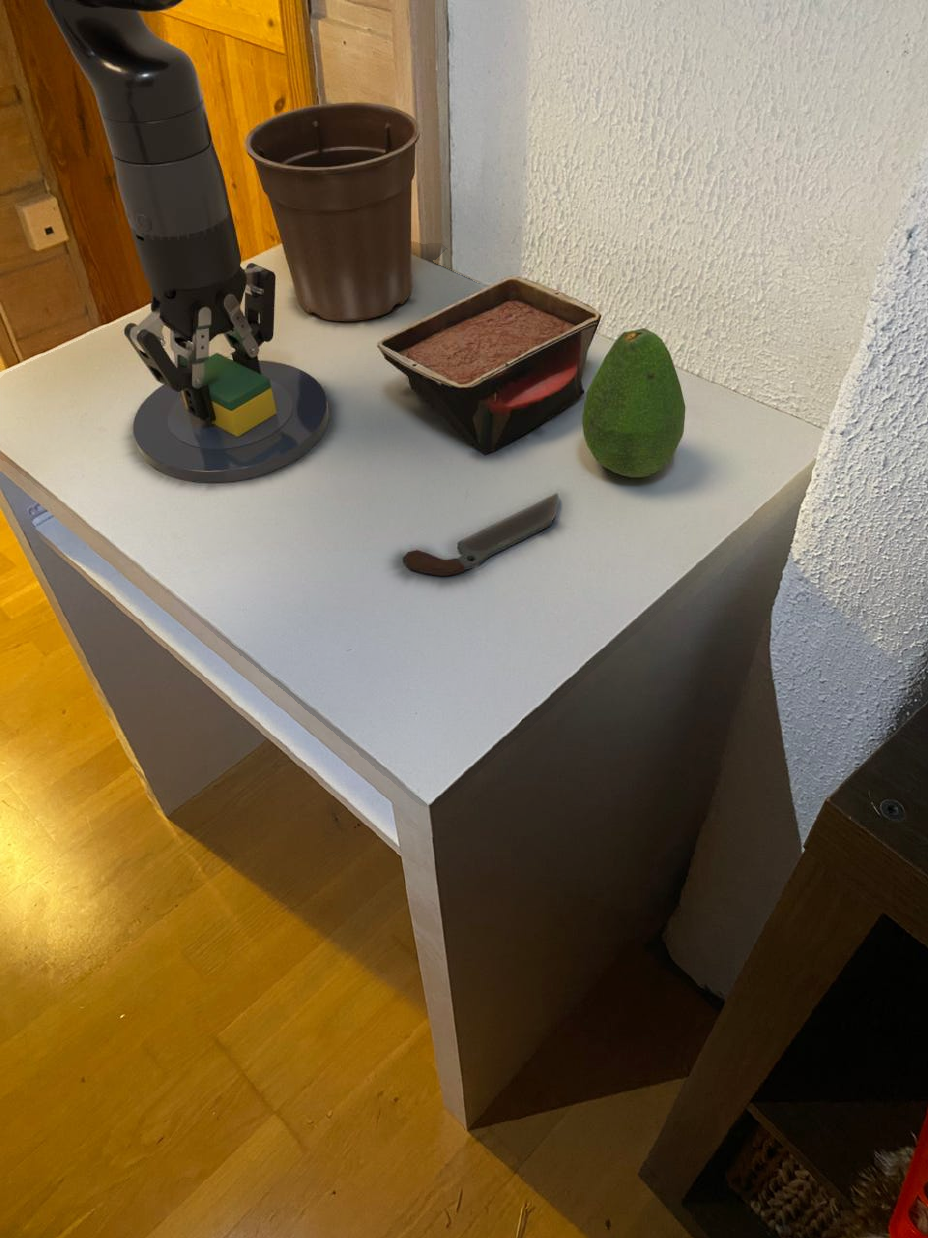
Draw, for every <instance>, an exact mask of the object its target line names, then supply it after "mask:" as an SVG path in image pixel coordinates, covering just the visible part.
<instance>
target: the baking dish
mask: <svg viewBox="0 0 928 1238" xmlns="http://www.w3.org/2000/svg"><path fill="white" fill-rule="evenodd" d="M602 316H603V315H602V314H601V313H600V312H599V311H598V310H596V309H595V308H594V307H592V306H591V305H590V304H587V303H585V302H582V301H580V300H579V299H577V298H575V297H572V296H570V295H568V294H566V293H564V292H562V291H559V290H556V289H554V288H551V287H549V286H547V285H544V284H542V283H538V282H535V281H533V280H530V279H527V278H525V277H524V278H523V277H521V276H511V275H510V276H507V277H505V278H502V279H501V280H499V281H497V282H493V284H491V285H489V286H487V287H484V288H482V289H480V290H478V291H476V292H474V293H472V294H471V295H468V296H467V297H465V298H462V299H460V300H458V301H457V302H455V303H453V304H450V305H449V306H446V307H444V308H442V309H440V310H438V311H436V312H434V313H431V314H430V315H428V316H426V317H424V318H422V319H420V320H418V321H415V322H413V323H410V324H409V325H407V326H405V327H403V328H401V329H399V330H397V331H394V332H393V333H391V334H389V335H387V336H384V337H383V338H381V339H380V340H378V342H377V345H376V347H377V348H378V351H380V353H381V354H382V356H383V357H384V360H386V361H387V362H388V363H390V364H391V365H392V366H393V367H395V368H396V369H397V370H399V371H400V372H401V373H402V374H404V375H405V376H406V377H407V381H408V383H409V387H410V389H411V390H413V391H414V392H416V393H418V394H420V395H422V397H423V398H425V400H426V401H427V402H428V403H429V404H430V405H431V406H432V407H433V408H434V409H435V410H436V411H437V412H438V413H439V414H440V415H441V416H442V417H443V418H444V419H445V420H446V421H447V423H449V424H450V425H451V426H452V427H453V428H454V429H455V430H456V432H458V433H459V434H460V435H461V437H463V438H464V439H465V440H466V441H467V442H468V443H470V445H472V446H473V447H474V448H476V449H477V451H479V452H481V454H483V455H484V456H486V455H489V454H493V453H495V452H497V451H499V450H500V449H502V448H504V447H505V446H507V445H509V444H510V443H512V442H515V441H516V440H518V439H519V438H521V437H523V436H524V435H526V434H527V433H529V432H531V431H532V430H534V429H536V428H537V427H539V426H540V425H542V424H543V423H544V422H546V421H547V420H549V419H551V418H552V417H554V416H555V415H557V414H559V413H560V412H561V411H563V410H565V409H566V408H567V407H568V406H570V405H571V404H573V403H574V402H576V401H577V400H579V399H580V398H581V397H582V396H583V395H585V390H584V387H583V384H582V380H583V374H584V370H585V366H586V361H587V357H588V353H589V349H590V347H591V344H592V342H593V340H594V337H595V334H596V332H597V330H598V327H599V325H600V322H601V319H602Z"/></svg>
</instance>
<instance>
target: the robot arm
mask: <svg viewBox="0 0 928 1238" xmlns="http://www.w3.org/2000/svg"><path fill="white" fill-rule="evenodd" d="M44 2H45V5H46V6H47V8H48V10H49V12H50V13H51V15H52V17H53V19H54V22H55V23H56V25H57V27H58V29H59V31H60V33H61V34H62V36H63V38H64V40H65V42H66V44H67V45H68V47H69V50H70V52H71V54H72V55H73V57H74V59H75V61H76V62H77V64H78V65H79V67H80V69H81V70H82V72H83V74H84V75H85V78H86V79H87V81H88V83H89V84H90V86H91V88H92V90H93V93H94V96H95V100H96V104H97V108H98V110H99V114H100V119H101V121H102V125H103V128H104V131H105V135H106V138H107V141H108V145H109V149H110V152H111V156H112V159H113V163H114V164H113V165H114V170H115V171H114V172H115V178H116V182H117V183H116V184H117V187H118V190H119V196H120V198H121V201H122V205H123V208H124V212H125V215H126V219H127V222H128V225H129V228H130V232H131V236H132V239H133V242H134V245H135V249H136V252H137V255H138V256H137V257H138V259H139V262H140V266H141V269H142V272H143V275H144V278H145V280H146V282H147V284H148V286H149V288H150V291H151V302H150V311H151V313H149V314H148V315H147V316H146V317H145V318H144V319H143V320H141V322H139V323H138V324H136V323H134V322H129V323H127V324H126V325H125V326H124V330H123V333H124V336H125V338H126V339H127V340H128V342H129V343H130V345H131V347H133V349H134V350H135V353H137V354H138V356H139V357H140V359H141V360H142V362H143V364H144V365H145V366H146V368H147V369H148V370H149V372H150V374H151V375H152V377H153V378H154V379H155V380H156V382H158V383H160V384H161V385H163V384H165V385H167V386H168V387H170V388H171V389H173V390H174V391H176V392H180V391H182V390H183V393H184V396H185V399H186V403H187V406H188V410H189V411H190V413H191V414H192V415H194V416H196V417H197V418H199V419H201V420H203V421H205V422H207V423H209V424H210V423H211V422H213V421H215V420H216V416H215V412H214V408H213V405H212V401H211V397H210V393H209V392H210V390H209V387H208V384H206V383H205V382H204V381H205V361H206V360H208V358H209V357H210V342H211V341H213V340H214V339H215V338H216V337H217V336H219V335H223V336H224V338H225V339H226V341H227V342H228V344H229V346H230V347H231V349H234V351H232V352H231V353H230V354H231V360H233V361H234V362H236V363H238V364H240V365H242V366H244V367H246V368H248V369H251V370H253V371H255V372H257V373H259V374H261V370H260V365H259V361H258V360H259V356H258V355H259V353H260V347H261V346H262V345H263V344H264V342H265V343H269V342H270V341H272V339H273V338H274V334H275V333H274V329H275V307H276V305H275V303H276V278H277V277H276V273H275V272H274V271H272V270H271V269H268V268H265V267H263V266H261V265H258V264H257V263H254V262H249V263H247V265H246V266H245V268H242V266H241V265H242V255H241V250H240V245H239V241H238V236H237V235H238V234H237V231H236V226H235V222H234V217H233V212H232V208H231V204H230V198H229V194H228V191H227V184H226V180H225V176H224V172H223V168H222V165H221V162H220V159H219V156H218V154H217V151H216V147H215V145H214V141H213V137H212V131H211V126H210V123H209V118H208V113H207V110H206V105H205V100H204V95H203V91H202V87H201V82H200V79H199V78H200V77H199V75H198V74H199V73H198V71H197V69H196V66H195V64H194V61H193V60H192V59H191V57H190V55H188V54H187V53H186V52H185V51H183V50H182V49H181V48H179V47H177V46H175V45H174V44H171V43H170V42H168V41H166V40H164V39H162V38H161V37H159V36H157V35H155V33H154V32H153V31H152V30H151V29H150V28H149V26H147V24H146V22H145V20H144V18H143V16H142V15H141V12H145V13H155V12H156V13H158V12H165V11H168V10H171V9H173V8H175V7H177V6H179V5H180V4H181V3H183V2H184V0H44ZM243 298H244V312H243V311H242V309H241V306H242V303H243ZM164 327H167V328H168V329H169V346H170V350H171V351H172V353H173V360H172V359H171V356H170V355H169V354H168V353H167V351H166V349H165V348H164V347H165V346H166V344H167V342H166V340H165V336H164V334H163V328H164ZM261 375H262V374H261Z"/></svg>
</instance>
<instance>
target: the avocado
mask: <svg viewBox="0 0 928 1238" xmlns="http://www.w3.org/2000/svg"><path fill="white" fill-rule="evenodd" d="M673 361H674V360H673V358H672V356H671V353H670V351H669V349H668V347H667V346H666V344H665V342H664V340H663V339H662V338H661V337H660V336H658V335H657V334H656V333H655V332H653V331H651V330H649V329H647V328H645V327H642V328H639V329H634V330H629V331H624V332H622V333H621V334H620V335H619V336H618V338H616V340H615V341H614V342H613V344H612V345H611V347H610V349H609V351H608V352H607V353H606V355H605V357H604V359H603V360H602V362H601V364H600V366H599V368H598V369H597V371H596V373H595V376H594V377H593V379H592V382H591V383H590V385H589V387H588V389H587V390H586V393H585V400H584V404H583V410H582V414H581V415H582V416H581V426H582V433H583V437H584V440H585V443H586V445H587V448H588V449H589V451H590V453H591V454H592V456H593V458H594V459H595V460H596V462H598V463H599V465H601V467H604V468H606V469H607V470H609V471H611V472H613V473H615V474H618V475H621V476H623V477H629V478H647V477H649V476H651V475H653V474H655V473H657V472H658V471H660V470H662V469H664V468H665V467H666V466H667V465H668V464H669V463H670V462H671V460H672V458H673V456H674V454H675V452H676V450H677V448H678V447H679V444H680V442H681V440H682V439H683V437H684V433H685V421H686V404H685V398H684V394H683V391H682V386H681V383H680V379H679V376H678V373H677V370H676V367H675V364H674V362H673Z"/></svg>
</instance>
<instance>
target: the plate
mask: <svg viewBox="0 0 928 1238" xmlns="http://www.w3.org/2000/svg"><path fill="white" fill-rule="evenodd" d="M258 361H259V365H260V370H261V374H262V375H263V376H265V377H267V378H269V379H270V384H271V389H272V393H273V398H274V403H275V407H276V412H277V413H276V414H275V415H273V416H271V417H270V418H268V419H267V420H265V421H263V422H262V423H260V424H258V425H257V426H255V427H254V428H252V429H250V430H249V431H247V432H245V433H244V434H242V435H240V436H239V437H236V436H235V435H233V434H231V433H229V432H227V431H226V430H224V429H222V428H220V427H219V426H217V425H215V424H213V423H210V424H209V423H207V422H205V421H203V420H201V419H199V418H197V417H196V416H194V415H192V414H191V413H190V411H189V410H188V409H187V408H186V405H185V401H184V398H183V395H182V391H180V392H176V391H174V390H173V389H171V388H170V387H168V386H167V385H165V384H161V385H160V386H159V387H158V388H157V389H155V390H154V391H152V393H150V394H149V395H148V396H147V397H146V398H145V399H144V400H143V402H142V403H141V404H140V405H139V408H138V409H137V411H136V413H135V416H134V418H133V422H132V423H133V424H132V434H133V437H134V441H135V443H136V447H137V449H138V452H139V453H140V455H141V457H142V459H144V460H145V461H146V463H147V464H149V466H151V467H152V468H153V469H155V470H157V471H159V472H160V473H162V474H164V475H167V476H170V477H172V478H175V479H179V480H183V481H187V482H195V483H208V484H209V483H211V484H213V483H216V484H217V483H229V482H230V483H232V482H239V481H243V480H249V479H254V478H257V477H260V476H264V475H266V474H271V473H272V472H276V471H277V470H280V469H282V468H284V467H286V466H288V465H291V463H294V462H295V461H297V460H299V459H300V458H301V457H303V456H304V455H305V454H306V453H308V452H309V451H310V450H311V449H312V448H313V447H315V446H316V444H317V443H318V442H319V441H320V439H321V438H322V437H323V435H324V433H325V431H326V429H327V426H328V424H329V417H330V411H329V410H330V409H329V405H328V403H329V402H328V398H327V395H326V391H325V390H324V388H323V386H322V385H321V384H320V382H318V380H317V379H316V378H314V377H313V376H312V375H311V374H309V373H307V371H305V370H302V369H301V368H298V367H296V366H292V365H289V364H286V363H282V362H276V361H272V360H261V359H258Z"/></svg>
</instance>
